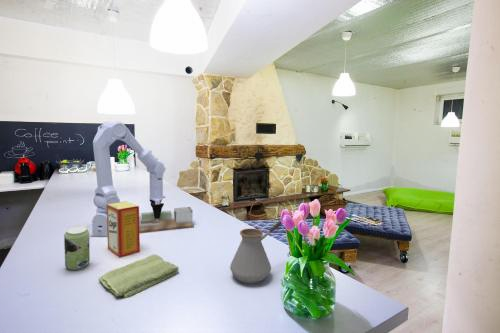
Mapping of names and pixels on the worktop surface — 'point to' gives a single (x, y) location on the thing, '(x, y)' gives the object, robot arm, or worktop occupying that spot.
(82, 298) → the worktop surface
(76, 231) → the beverage can
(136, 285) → the washcloth
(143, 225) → the end caps
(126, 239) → the baking soda box
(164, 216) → the green long rectangular block
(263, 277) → the coffee pot
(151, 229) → the board
